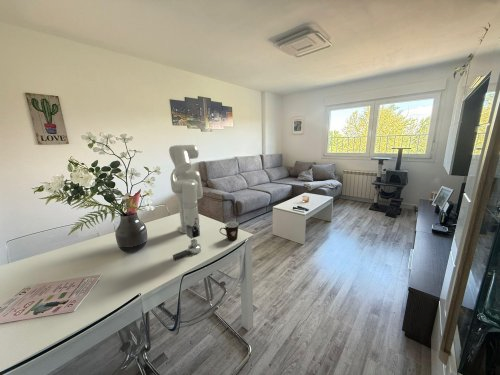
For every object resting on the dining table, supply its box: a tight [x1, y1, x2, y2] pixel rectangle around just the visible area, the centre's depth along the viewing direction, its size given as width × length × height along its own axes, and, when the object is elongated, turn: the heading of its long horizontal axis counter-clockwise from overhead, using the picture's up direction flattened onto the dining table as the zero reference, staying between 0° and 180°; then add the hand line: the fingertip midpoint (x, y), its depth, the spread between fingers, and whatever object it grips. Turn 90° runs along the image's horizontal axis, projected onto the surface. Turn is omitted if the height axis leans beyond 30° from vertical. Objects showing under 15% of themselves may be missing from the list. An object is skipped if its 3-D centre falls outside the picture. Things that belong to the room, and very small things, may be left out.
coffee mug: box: [219, 221, 239, 242], centre depth 132 cm, size 12×9×10 cm
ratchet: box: [172, 238, 202, 262], centre depth 116 cm, size 7×16×7 cm, turn 132°
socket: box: [186, 224, 201, 240], centre depth 115 cm, size 5×5×6 cm
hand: (193, 234), depth 116 cm, fingers closed on socket, 5 cm apart
